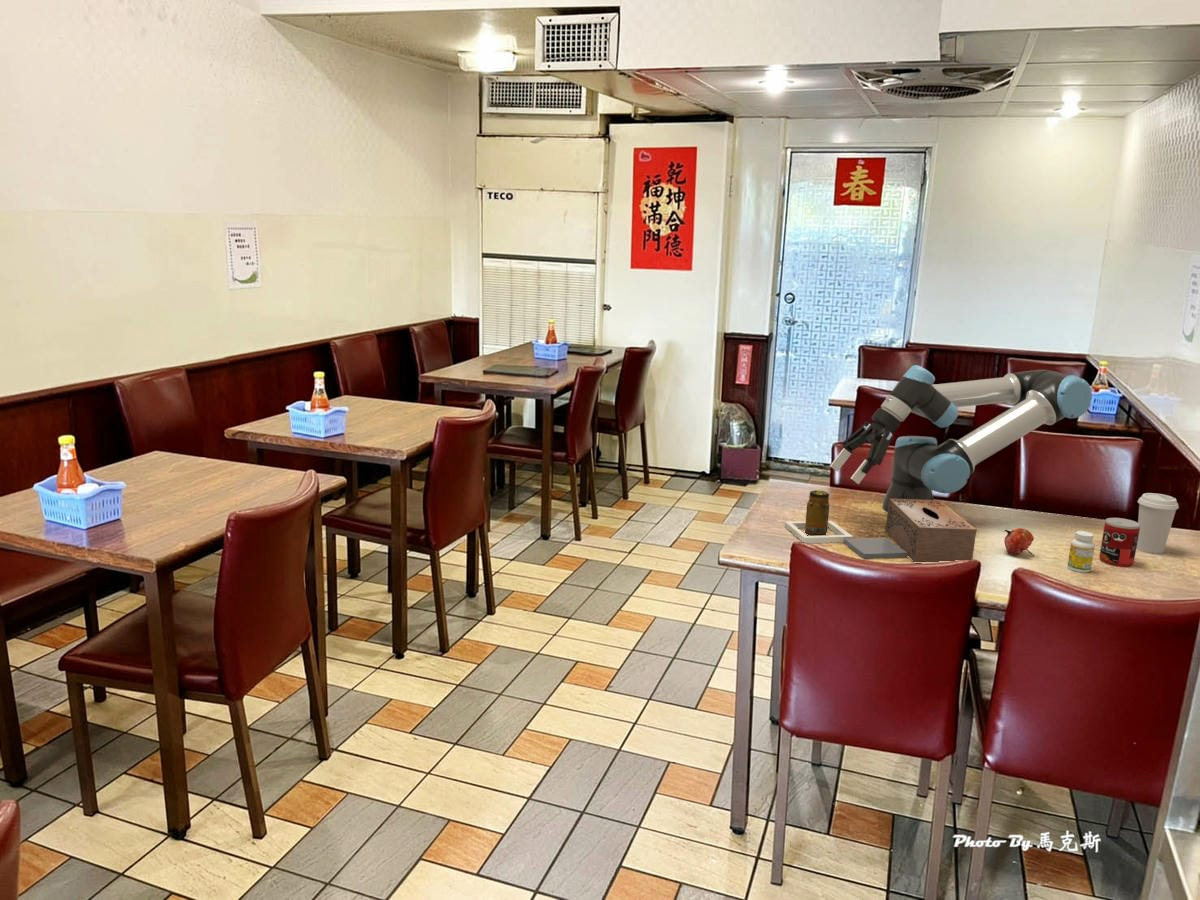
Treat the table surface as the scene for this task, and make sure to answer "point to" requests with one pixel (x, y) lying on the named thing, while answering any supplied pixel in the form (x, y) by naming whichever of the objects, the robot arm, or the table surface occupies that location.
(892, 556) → the charcoal tile
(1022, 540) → the pomegranate
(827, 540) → the pocket holder
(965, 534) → the tissue box cover
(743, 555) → the table surface
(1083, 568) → the supplement bottle
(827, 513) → the condiment
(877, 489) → the table surface
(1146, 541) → the coffee cup
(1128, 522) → the canned food
